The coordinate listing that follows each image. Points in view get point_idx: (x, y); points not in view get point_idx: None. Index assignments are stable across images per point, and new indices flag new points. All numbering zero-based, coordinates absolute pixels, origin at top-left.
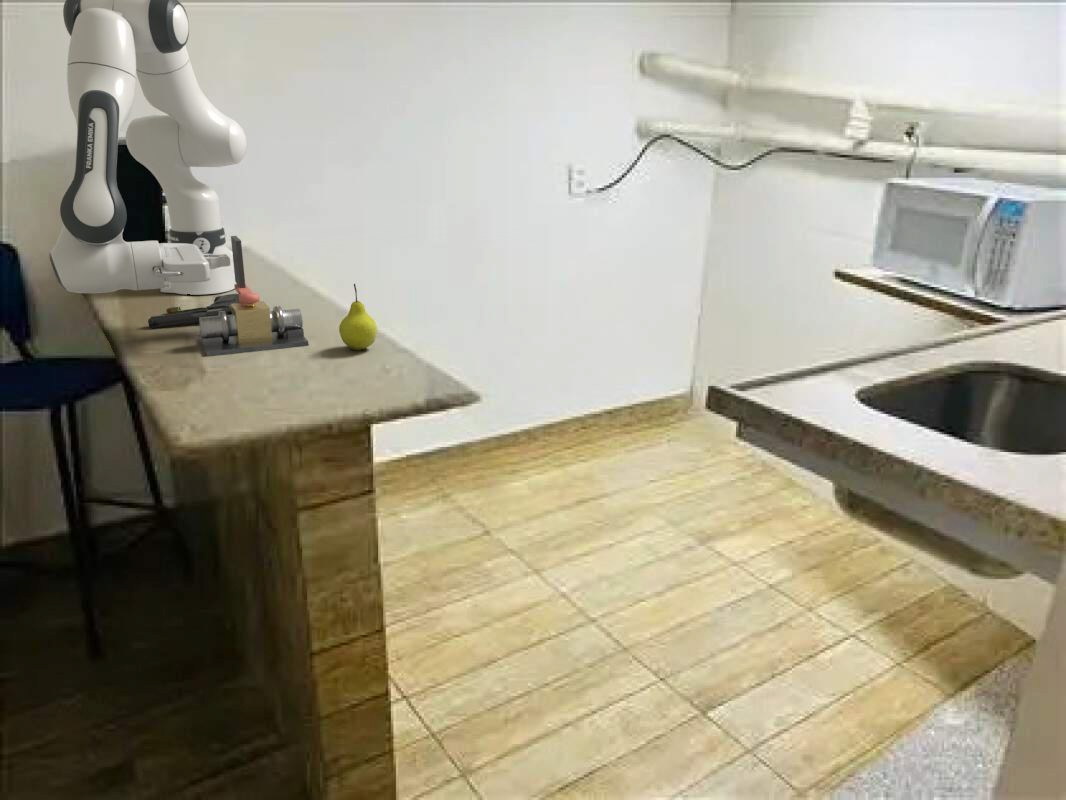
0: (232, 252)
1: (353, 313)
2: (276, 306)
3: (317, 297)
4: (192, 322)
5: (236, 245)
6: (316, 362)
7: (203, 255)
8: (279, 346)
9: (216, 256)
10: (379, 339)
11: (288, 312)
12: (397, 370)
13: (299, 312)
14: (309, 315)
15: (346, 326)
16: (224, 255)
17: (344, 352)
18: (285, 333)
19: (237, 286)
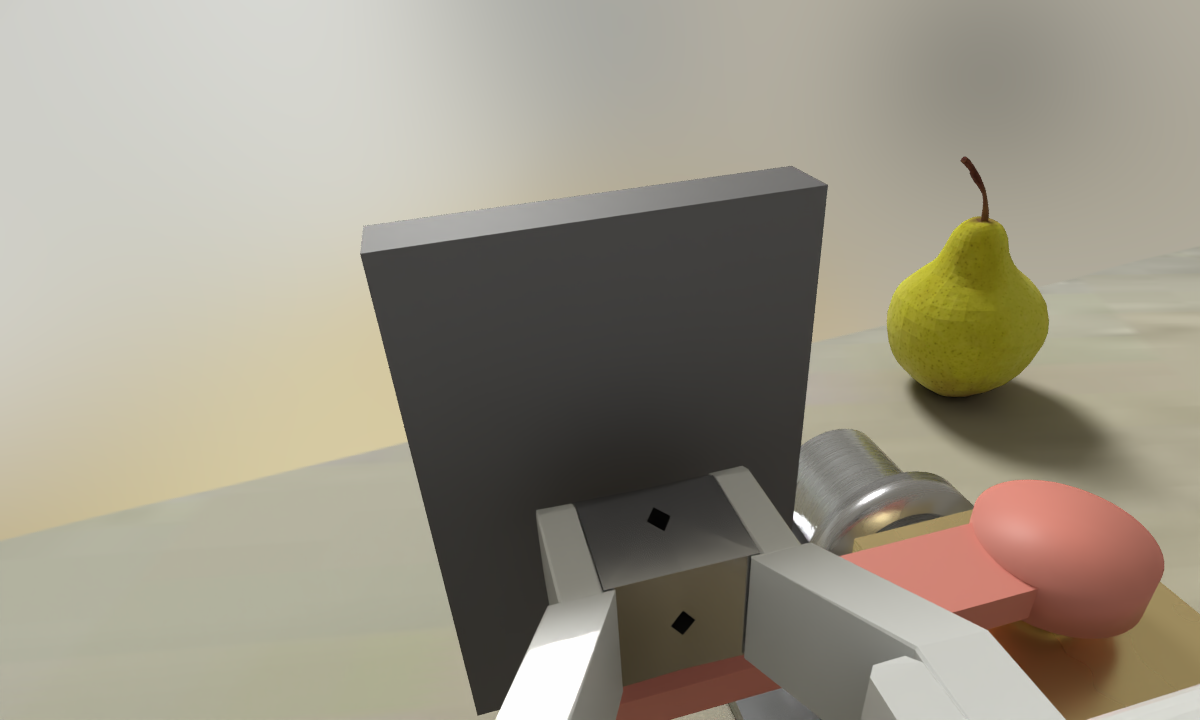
0: (423, 463)
1: (1011, 262)
2: (897, 490)
3: (31, 539)
4: None
5: (820, 243)
6: (1197, 473)
7: (1121, 714)
8: None
9: (607, 631)
10: (812, 352)
11: (895, 469)
12: (1144, 316)
13: (867, 436)
14: (397, 545)
15: (1045, 313)
16: (634, 514)
17: (1009, 413)
18: None
19: (705, 667)
